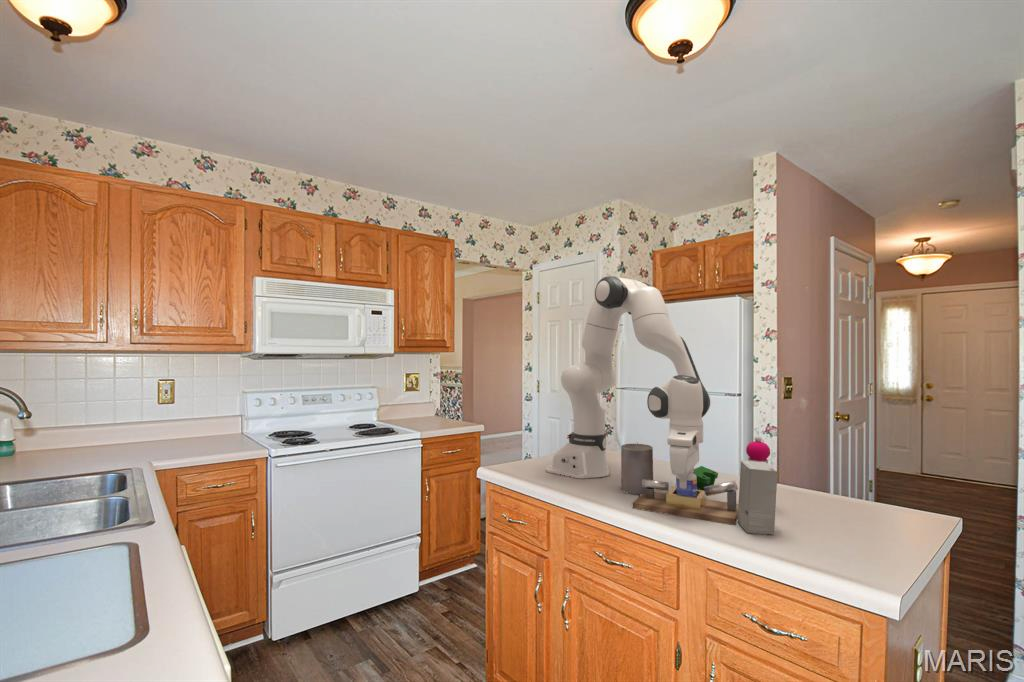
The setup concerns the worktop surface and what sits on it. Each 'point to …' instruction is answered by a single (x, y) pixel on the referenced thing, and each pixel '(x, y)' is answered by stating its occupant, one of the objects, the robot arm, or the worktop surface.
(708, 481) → the clamp
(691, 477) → the pill bottle
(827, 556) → the worktop surface
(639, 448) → the pillar candle
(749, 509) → the skincare box
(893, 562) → the worktop surface
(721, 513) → the shaft stand
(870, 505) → the worktop surface
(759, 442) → the pepper mill
